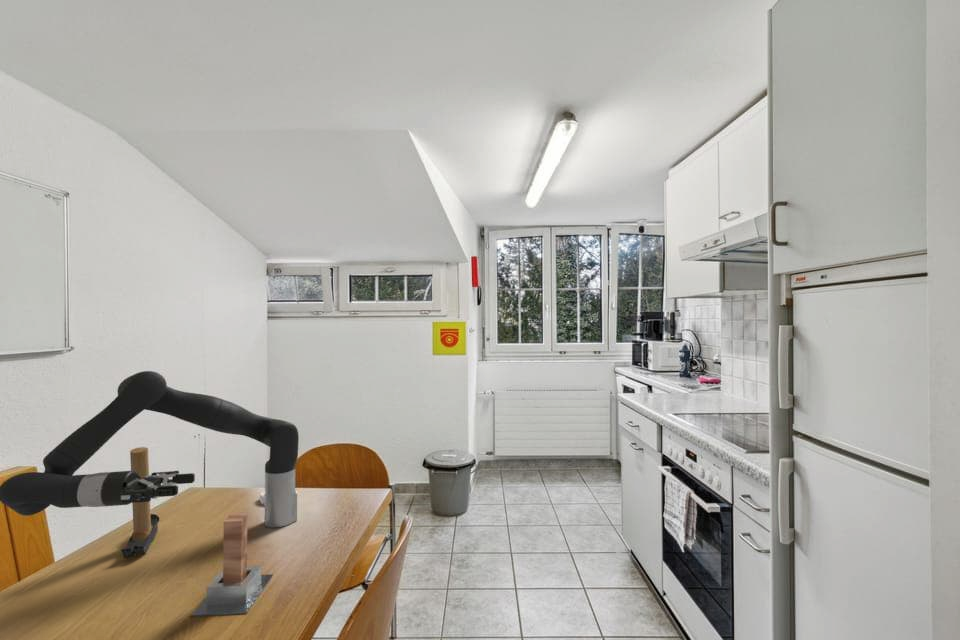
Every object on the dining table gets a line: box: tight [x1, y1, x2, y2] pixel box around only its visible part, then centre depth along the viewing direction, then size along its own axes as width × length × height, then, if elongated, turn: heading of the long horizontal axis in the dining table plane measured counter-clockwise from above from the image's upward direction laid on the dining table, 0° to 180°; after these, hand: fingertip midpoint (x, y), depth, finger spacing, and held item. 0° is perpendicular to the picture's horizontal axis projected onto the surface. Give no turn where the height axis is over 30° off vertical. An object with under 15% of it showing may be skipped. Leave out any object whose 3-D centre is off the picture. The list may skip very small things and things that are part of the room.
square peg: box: [222, 513, 248, 583], centre depth 110 cm, size 4×4×18 cm
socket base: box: [190, 565, 274, 618], centre depth 110 cm, size 16×12×5 cm
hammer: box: [120, 446, 160, 558], centre depth 133 cm, size 20×5×30 cm, turn 24°
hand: (186, 483), depth 109 cm, fingers open, 8 cm apart
